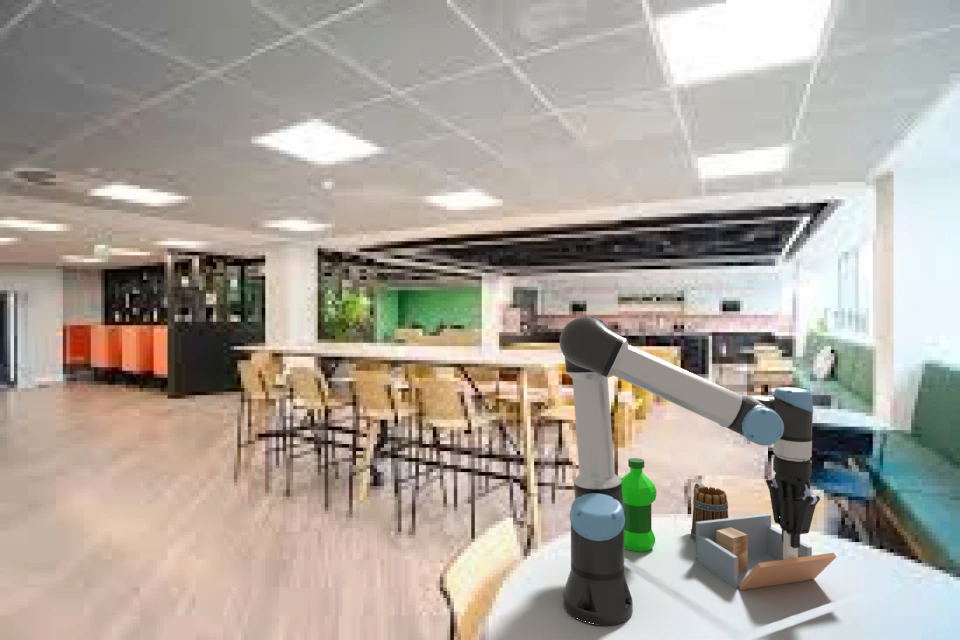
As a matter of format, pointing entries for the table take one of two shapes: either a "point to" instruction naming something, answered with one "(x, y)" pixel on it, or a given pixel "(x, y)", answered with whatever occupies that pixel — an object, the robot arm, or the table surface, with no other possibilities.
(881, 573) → the table surface
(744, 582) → the panel
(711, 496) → the mug
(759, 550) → the box
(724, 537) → the wooden block
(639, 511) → the plastic bottle
